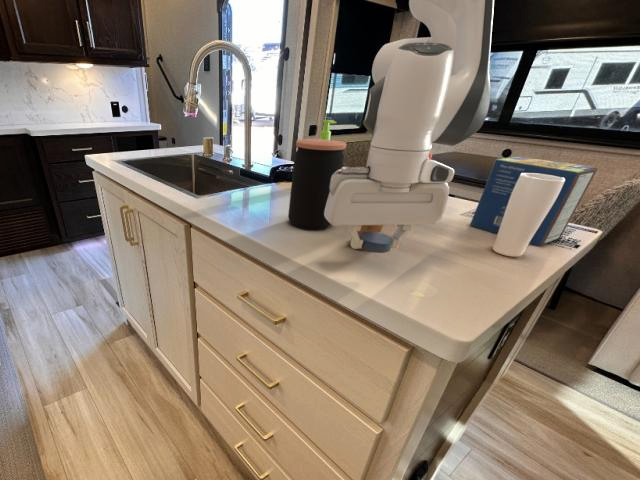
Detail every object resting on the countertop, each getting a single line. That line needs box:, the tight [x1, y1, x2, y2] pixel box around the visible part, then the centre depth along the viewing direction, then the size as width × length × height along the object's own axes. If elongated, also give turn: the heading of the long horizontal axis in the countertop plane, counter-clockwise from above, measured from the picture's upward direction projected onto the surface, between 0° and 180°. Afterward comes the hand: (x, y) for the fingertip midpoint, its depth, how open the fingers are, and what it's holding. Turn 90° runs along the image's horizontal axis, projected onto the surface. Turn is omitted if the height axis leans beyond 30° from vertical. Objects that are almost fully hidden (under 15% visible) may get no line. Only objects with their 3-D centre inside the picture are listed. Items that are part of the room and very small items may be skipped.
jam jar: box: [349, 225, 384, 252], centre depth 68 cm, size 5×5×9 cm
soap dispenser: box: [318, 119, 337, 140], centre depth 113 cm, size 6×7×20 cm
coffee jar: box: [287, 138, 348, 231], centre depth 77 cm, size 11×11×18 cm
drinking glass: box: [491, 173, 565, 258], centre depth 65 cm, size 7×7×15 cm
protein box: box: [469, 156, 599, 247], centre depth 76 cm, size 10×15×16 cm
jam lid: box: [360, 232, 393, 254], centre depth 61 cm, size 6×6×2 cm
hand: (374, 247), depth 62 cm, fingers closed on jam lid, 5 cm apart
